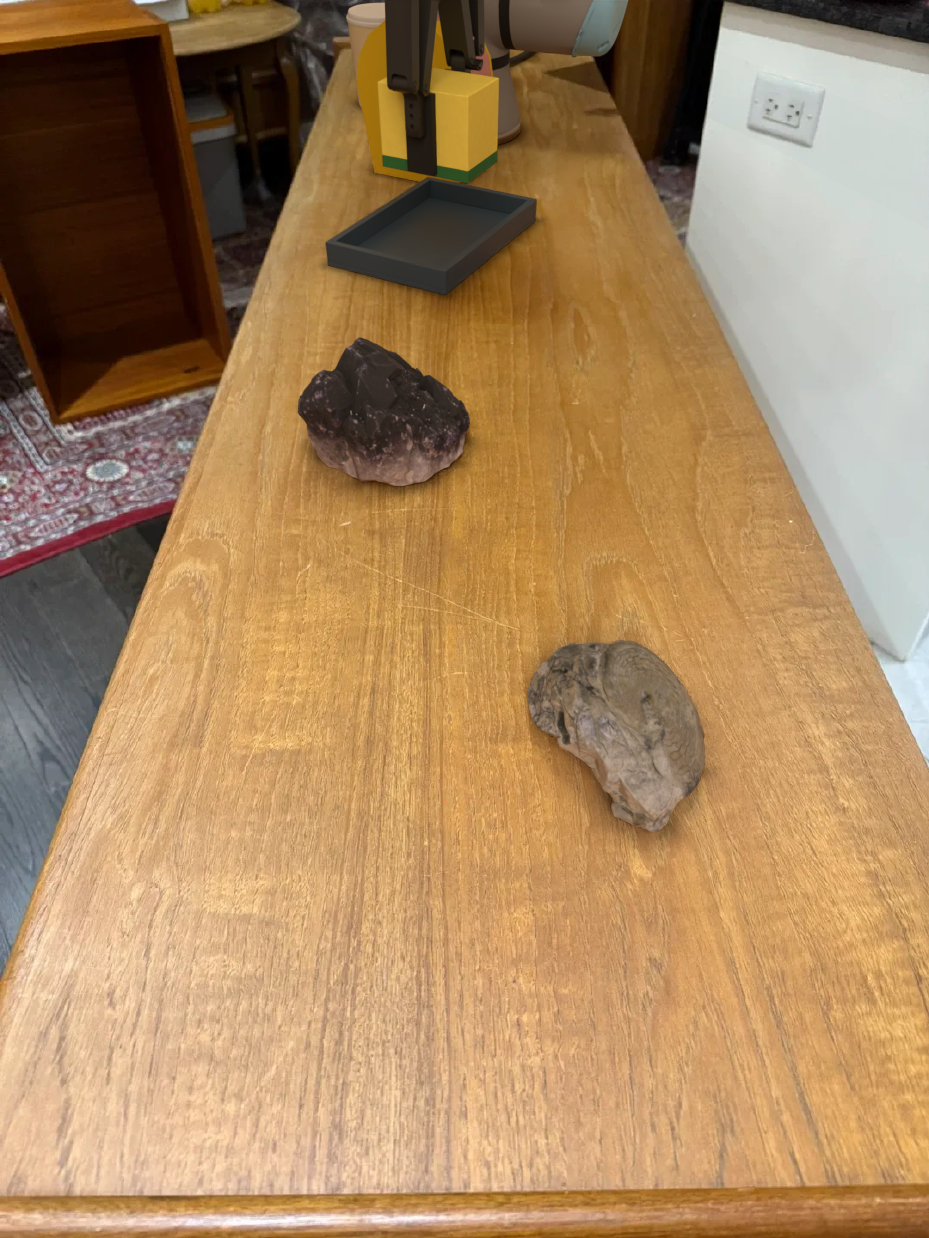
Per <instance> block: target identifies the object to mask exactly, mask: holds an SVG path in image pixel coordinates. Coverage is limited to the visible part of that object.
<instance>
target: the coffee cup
mask: <svg viewBox="0 0 929 1238" xmlns="http://www.w3.org/2000/svg"><path fill="white" fill-rule="evenodd" d="M345 19H346V22H347V26H348V36H349V42H350V51H351V57H352V59H351V60H352V65H353V73H354V79H355V87H356V94H357V101H358V105H359V106H360V107H361V102H360V97H359V92H358V87H357V70H358V57H359V54H360V52H361V50H362V48H363V45H364V43H365V41H366V39H367V36H368V34H369V33H370V32H372V31H373V30H374V29H375V28H376V27H378V26H379V25H380V24H381V23H383V22H384V21H385V2H370V3H369V2H368V3H361V4H356V5H353V6H351V7H349V8H348V10H347V14H346V18H345Z"/></svg>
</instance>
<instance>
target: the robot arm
mask: <svg viewBox="0 0 929 1238" xmlns="http://www.w3.org/2000/svg"><path fill="white" fill-rule="evenodd" d="M628 2H629V0H384V3H385V30H386V66H387V86H388V89H389V90H392V91H395V92H401V93H402V94H403V96H404V109H405V130H406V146H407V168H408V171H409V172H414V173H419V174H424V175H429V176H435V175H436V174H437V140H436V96H435V93H430V92H429V91H430V82H431V72H432V63H433V53H434V43H435V33H436V23H437V14H438V12H439V18H440V25H441V31H442V38H443V44H444V50H445V57H446V63H447V66H449V67H451V69H444V70H451V71H457V72H464V73H470V74H472V73H471V70H476V71H481V69H482V67H483V59H476V57H477V56H479V57H482V56H483V54H484V50H485V45H486V47H487V49H488V51H489V53H490V56H491V63H492V71H493V77H496V78H499V99H498V141H497V146H498V145H501V144H505V143H508V142H510V141H512V140H514V139H515V138H517V137H518V136H519V135H520V132H521V121H522V120H521V112H520V108H519V107H520V106H519V103H518V99H517V94H516V91H515V86H514V83H513V78H512V74H511V67H510V66H511V65H513V64H516V63H519V62H521V61H523V60H524V59H527V58H528V57H530V56H532V55H533V54H535V53H542V54H543V53H544V54H553V55H563V56H571V57H572V58H577V57H602V56H604V55H606V54H607V53H609V51H610V50H611V49H612V47H613V46H614V44H615V42H616V40H617V38H618V35H619V32H620V30H621V27H622V23H623V20H624V18H625V14H626V10H627V8H628V7H627V6H628V4H629V3H628ZM473 37H474V40H473ZM511 51H522V52H520V53H517V54H516V55H514V56H511Z"/></svg>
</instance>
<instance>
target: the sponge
mask: <svg viewBox="0 0 929 1238" xmlns="http://www.w3.org/2000/svg"><path fill="white" fill-rule="evenodd" d="M429 92H430V93H435V96H436V140H437V174H436V175H435V176H433V177H438V178H443V179H448V180H453V181H458V182H460V183H463V184H469V183H471V182H472V181H473V180H474V179H476V178H478V177H479V176H480V175H481V174H483V173H484V172H485V171H487V170H489V168H491V167H492V166H493V165H495V164H497V162H498V145H497V141H498V99H499V78H496V77H490V76H483V75H477V74H470V73H464V72H457V71H451V70H444V69H438V68H432V72H431V82H430V91H429ZM378 98H379V114H380V129H381V144H382V162H383V167H388V168H393V169H398V170H403V171H408V168H407V146H406V130H405V109H404V96H403V94H402V93H401V92H395V91H392V90H389V89H388V86H387V77H386V78H384V79H382V80H380V81H379V82H378ZM408 172H409V171H408ZM413 173H414V172H413ZM418 174H419V173H418ZM423 175H424V174H423ZM428 176H429V175H428Z"/></svg>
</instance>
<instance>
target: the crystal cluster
mask: <svg viewBox="0 0 929 1238" xmlns="http://www.w3.org/2000/svg"><path fill="white" fill-rule="evenodd" d="M297 415H298V416H299V417H300V418H301V419H302V420H303V421H304V423H305V425H306V430H307V437H308V438H309V440H310V443H311V445H312V447H313V449H314V450H315V452H316V454H317V456H318V458H319V459H320V461H322V462H323V464H324V465H326V467H329V468H333V469H335V470H338V471H341V472H343V473H345V474H346V475H348V476H350V477H352V478H355V479H358V480H359V481H360V482H362V483H365V482H366V483H367V482H372V481H374V482H379V483H384V484H388V485H391V486H397V487H403V486H408V485H413V484H418V483H424V482H426V481H428V480H429V479H430V478H432V477H433V476H434V475H435V474H436V473H438V472H440V471H441V470H443V469H446V468H449V467H450V466H451V464H453V462H455V461H456V460H458V458H459V457H460V456H461V455H462V454H463V453H464V446H465V443H466V436H467V433H468V431H469V428H470V425H471V419H470V413H469V412H468V411H467V409H466V405H465V403H464V402H463V401H462V400H461V399H458V398H457V397H456V396H455V395H454V393H453V392H452V391H451V390H450V388H448V387H447V386H445V385H444V384H443V383H442V382H441V381H439V380H438V379H436V378H435V377H434V376H432V375H431V374H426V375H424V374H423V373H422V372H421V370H420V369H419V368H418V367H416V368H415V367H413V366H412V365H411V364H410V363H409V362H408V361H407V360H406V359H404V358H403V357H402V356H400V354H398V353H397V352H396V351H392V350H388V349H386V348H384V346H381V345H380V344H377V343H375V342H373V341H371V340H369V339H367V338H364V337H361V336H358V337H357V338H356V339H355V340H354V341H353V342H352V344H351V345H348V346H345V348H344V349H343V352H342V354H341V355H340V357H339V360H338V362H337V364H336V366H335V367H334V368H333V369H332V370H327V369H322V370H321V371H319V372H317V373H316V374H314V376H313V377H312V378H311V380H310V382H309V384H308V385H307V386H306V387H305V388H304V389H303V391H302V393H301V395H300V396H299V398H298V401H297Z"/></svg>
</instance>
